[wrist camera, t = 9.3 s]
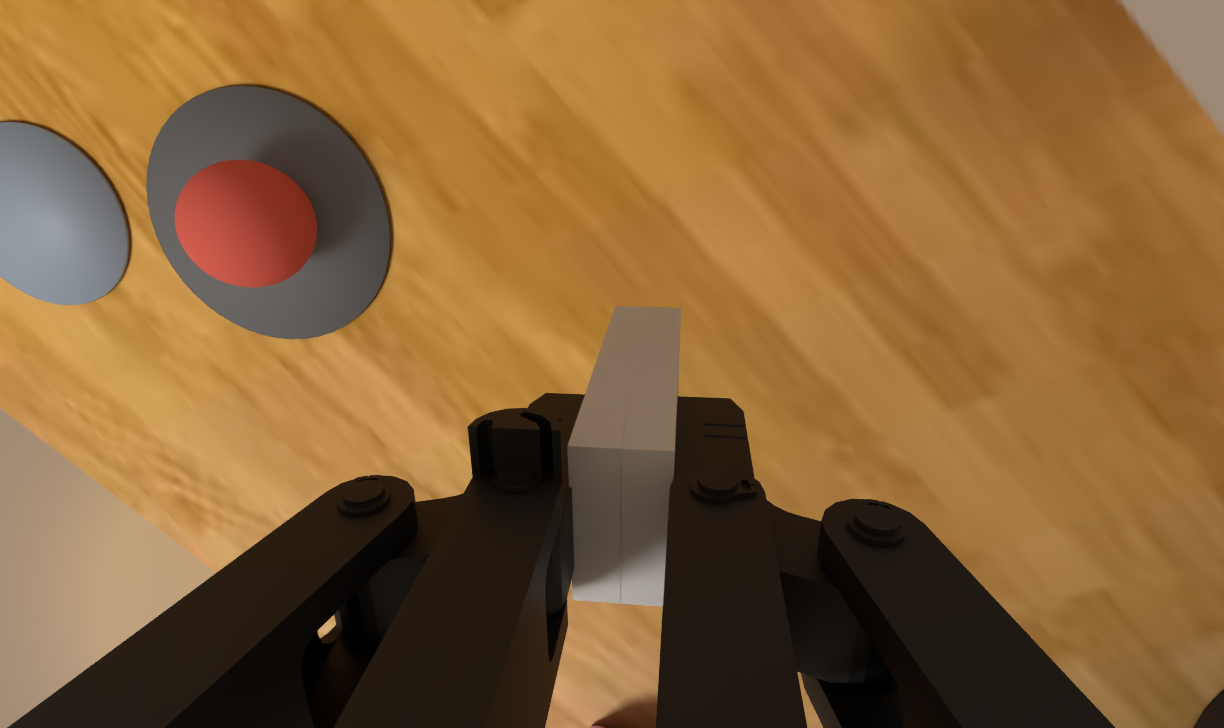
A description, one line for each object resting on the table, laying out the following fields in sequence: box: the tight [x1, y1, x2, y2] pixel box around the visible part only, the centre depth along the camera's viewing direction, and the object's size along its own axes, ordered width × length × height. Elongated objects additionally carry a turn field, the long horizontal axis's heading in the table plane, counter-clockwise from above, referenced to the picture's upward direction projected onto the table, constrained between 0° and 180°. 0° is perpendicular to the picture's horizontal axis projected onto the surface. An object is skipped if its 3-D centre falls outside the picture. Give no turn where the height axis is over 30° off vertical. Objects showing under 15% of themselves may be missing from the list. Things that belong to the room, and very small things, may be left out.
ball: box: [175, 160, 317, 287], centre depth 30 cm, size 6×6×6 cm
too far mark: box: [0, 122, 130, 305], centre depth 33 cm, size 9×9×1 cm
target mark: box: [147, 86, 391, 339], centre depth 32 cm, size 12×12×1 cm
